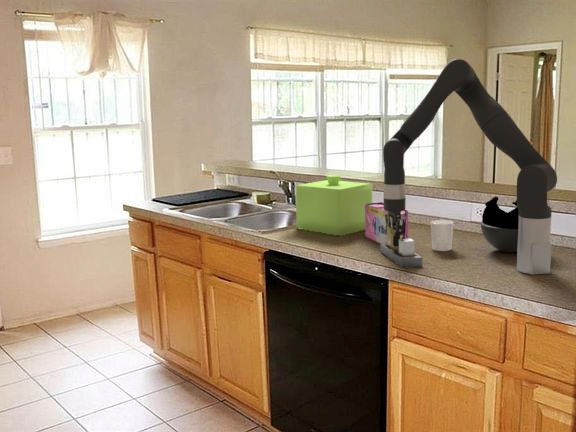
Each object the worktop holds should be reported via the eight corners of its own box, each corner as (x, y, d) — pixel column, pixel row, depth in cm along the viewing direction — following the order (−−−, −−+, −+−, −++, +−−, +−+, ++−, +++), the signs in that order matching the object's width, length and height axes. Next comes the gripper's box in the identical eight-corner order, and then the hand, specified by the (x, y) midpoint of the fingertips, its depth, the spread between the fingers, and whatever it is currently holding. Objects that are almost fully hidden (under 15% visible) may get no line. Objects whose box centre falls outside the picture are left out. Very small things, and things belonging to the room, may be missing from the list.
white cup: (437, 252, 211) (437, 225, 209) (426, 247, 219) (426, 221, 217) (457, 250, 213) (457, 223, 211) (445, 245, 221) (446, 219, 219)
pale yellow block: (401, 250, 208) (401, 227, 207) (390, 251, 207) (390, 228, 206) (397, 247, 212) (397, 225, 210) (387, 248, 211) (387, 226, 210)
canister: (296, 229, 260) (295, 176, 256) (329, 221, 274) (328, 171, 270) (340, 236, 242) (339, 180, 238) (372, 227, 257) (372, 174, 253)
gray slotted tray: (422, 266, 194) (422, 257, 194) (401, 268, 193) (401, 259, 192) (398, 250, 215) (398, 242, 215) (380, 252, 214) (380, 244, 214)
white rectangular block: (414, 264, 197) (414, 240, 195) (403, 265, 196) (403, 241, 195) (410, 261, 201) (410, 238, 199) (398, 262, 200) (398, 239, 199)
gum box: (411, 247, 221) (411, 211, 218) (391, 249, 218) (391, 213, 216) (382, 234, 243) (382, 201, 241) (364, 236, 241) (364, 203, 238)
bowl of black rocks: (552, 256, 201) (555, 201, 198) (496, 260, 198) (498, 204, 195) (521, 243, 221) (523, 193, 217) (470, 246, 218) (471, 196, 214)
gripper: (412, 199, 200) (412, 248, 203) (397, 193, 214) (397, 239, 217) (390, 200, 199) (391, 250, 202) (377, 194, 213) (378, 241, 216)
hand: (394, 244), depth 209 cm, fingers closed on pale yellow block, 4 cm apart
